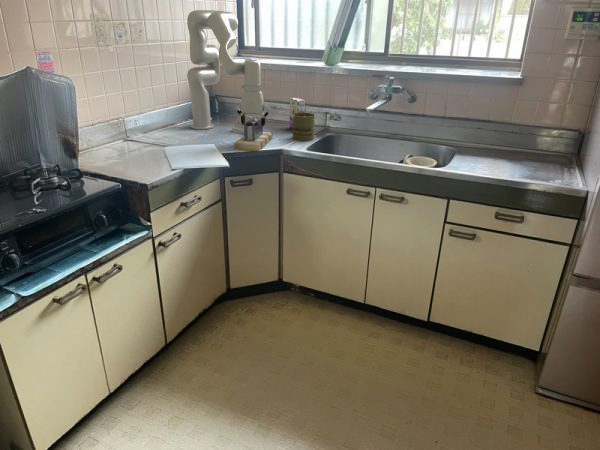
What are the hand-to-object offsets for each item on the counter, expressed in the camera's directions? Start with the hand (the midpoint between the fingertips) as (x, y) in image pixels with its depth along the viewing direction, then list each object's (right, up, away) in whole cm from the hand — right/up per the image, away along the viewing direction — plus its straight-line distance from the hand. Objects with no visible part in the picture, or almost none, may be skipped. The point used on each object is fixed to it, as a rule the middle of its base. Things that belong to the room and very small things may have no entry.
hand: (253, 125), depth 214 cm
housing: (0, -5, +2) cm, 6 cm away
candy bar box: (+21, +5, +32) cm, 39 cm away
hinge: (-6, +1, +24) cm, 25 cm away
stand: (0, -8, +4) cm, 9 cm away
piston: (+24, -4, +15) cm, 29 cm away
